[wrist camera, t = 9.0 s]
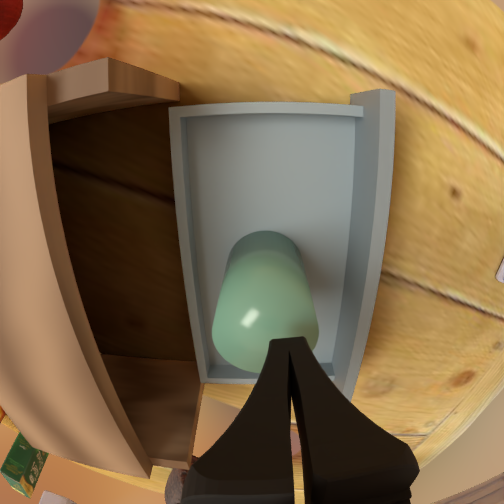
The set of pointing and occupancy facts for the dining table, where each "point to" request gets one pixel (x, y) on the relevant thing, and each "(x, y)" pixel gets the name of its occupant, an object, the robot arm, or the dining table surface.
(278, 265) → the sea green cylinder
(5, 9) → the onion
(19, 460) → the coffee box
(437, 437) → the dining table surface
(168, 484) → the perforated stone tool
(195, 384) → the wooden drawer box
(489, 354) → the dining table surface
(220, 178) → the drawer tray
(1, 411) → the red food box
